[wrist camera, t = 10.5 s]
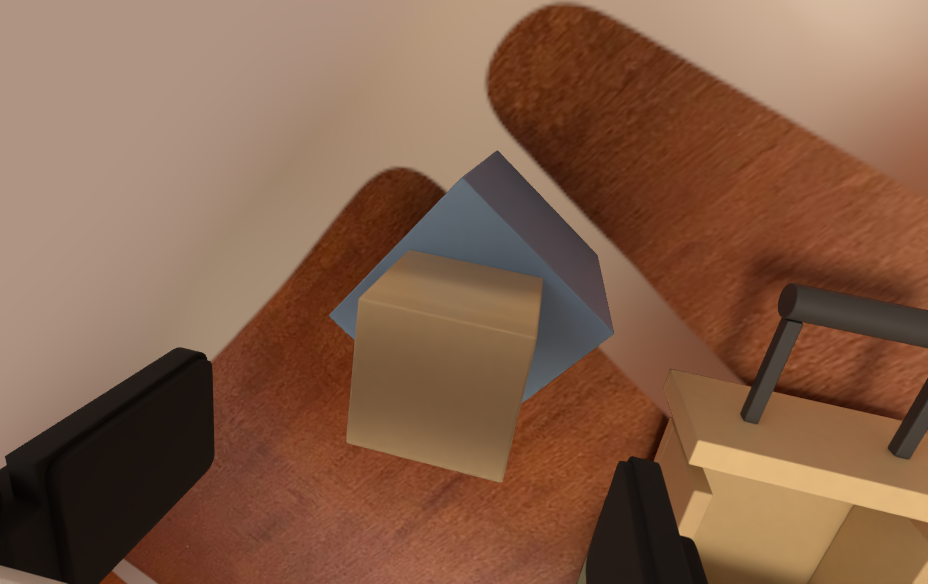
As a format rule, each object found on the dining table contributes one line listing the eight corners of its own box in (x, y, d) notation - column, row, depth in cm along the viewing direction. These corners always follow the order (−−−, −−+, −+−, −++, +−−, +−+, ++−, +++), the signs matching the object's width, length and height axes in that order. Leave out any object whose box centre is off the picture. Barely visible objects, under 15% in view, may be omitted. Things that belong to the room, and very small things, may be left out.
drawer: (712, 249, 23) (757, 294, 18) (988, 303, 22) (1128, 370, 16) (599, 563, 30) (607, 663, 25) (800, 617, 29) (853, 735, 24)
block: (408, 248, 17) (357, 297, 13) (544, 277, 16) (537, 337, 12) (393, 366, 18) (344, 443, 14) (516, 395, 18) (502, 484, 14)
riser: (497, 149, 24) (462, 176, 16) (597, 255, 25) (615, 334, 17) (401, 248, 27) (327, 316, 18) (495, 340, 27) (466, 445, 19)
